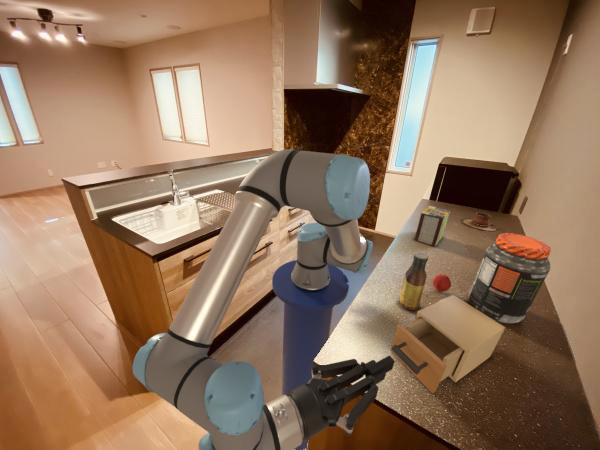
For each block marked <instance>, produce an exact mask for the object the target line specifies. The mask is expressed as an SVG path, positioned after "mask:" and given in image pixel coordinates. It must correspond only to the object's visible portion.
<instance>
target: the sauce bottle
mask: <svg viewBox="0 0 600 450" xmlns="http://www.w3.org/2000/svg"><path fill="white" fill-rule="evenodd" d="M428 261H429V255H428V254H427V253H424V252H420V251H416V252H414V254H413V260H412V263H411V265H410V266H409V268H408V269H407V270H406V272H405V275H404V280H403V283H402V287H401V291H400V296H399V304H400V305H401V307H402V308H403V309H406V310H409V311H415V310H417V309H419V305H420V303H421V300H422V296H423V292H424V289H425V286H426V281H427V277H428V276H427V275H428V274H427V271H426V265H427V262H428Z"/></svg>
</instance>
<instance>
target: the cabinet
mask: <svg viewBox="0 0 600 450" xmlns="http://www.w3.org/2000/svg"><path fill="white" fill-rule="evenodd" d="M415 315H416V316H415V318H414V321H416V320H418V319H420V318H423V319H425V320H426V321H427V322H428V323H430V324H431V325H432V326H433V327H435V328H436V329H437V330H439V331H440V332H441V333H442V334H444V335H445V336H446V337H448V338H449V339H450V340H451V341H453V342H454V343H455V344H456V345H458V346H459V347H460V348H462V349H463V350H464V351H465V352H464V354H463V356H462V358H461V361H460V363H459V365H458V367H457V369H456V371H455V372H454V373H452V374H451V375H449V376H448V378H450V380H452V381H453V382H454V383H457V382H458V381H460V380H461V379H462V378H464V377H465V376H466V375H468V374H469V373H470V372H471V371H473V370H474V369H476V368H477V367H478V366H480V365H482V364H483V363H484V362H485V361H486V360H488V359H489V358H491V356H492V354H493V353H494V350H495V348H496V346H497V345H498V342H499V341H500V340H501V337H502V335H503V333H504V331H505V329H506V326H504V325H502V324H501V323H500V322H498V321H496V320H494V319H491V318H489V317H488V316H486V315H485V314H483V313H481V312H480V311H478V310H477V309H475V308H474V307H473V306H472V305H470V304H468V303H467V302H466V301H464V300H463V299H461V298H459V297H457V296H456V295H455V294H450V295H449V296H447V297H445V298H443V299H441V300H438V301H437V302H434V303H432V304H429V305H428V306H425V307H423V308H421V309H420V310H417V313H416V314H415Z"/></svg>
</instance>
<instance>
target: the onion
mask: <svg viewBox="0 0 600 450" xmlns="http://www.w3.org/2000/svg"><path fill="white" fill-rule="evenodd" d="M432 286H433V287H434V289H436V291H437V292H439V293H442V292H447V291H449V290H450V289H451V287H452V281H451V279H450V277H449V276H448V275H447V273H443V274H437V275H436V276H434V278H433V279H432Z"/></svg>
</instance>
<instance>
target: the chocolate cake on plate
mask: <svg viewBox="0 0 600 450" xmlns="http://www.w3.org/2000/svg"><path fill="white" fill-rule="evenodd" d="M491 218H492V216H491V214H488V213H486V212H475V216H474V217H473V218H469V219H468V218H466V219H463V221H462V223H463V224H464V225H466V226H469V227H472V228H474V229H478V230H483V231H489V232H493V231H497V230H496V229H491V228H490V227H488V226H480V225H489V223H490V224H491V222H490V220H491ZM472 221H473V222H474V223H476V224H474V223H473V222H472ZM477 224H479V225H477Z"/></svg>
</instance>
